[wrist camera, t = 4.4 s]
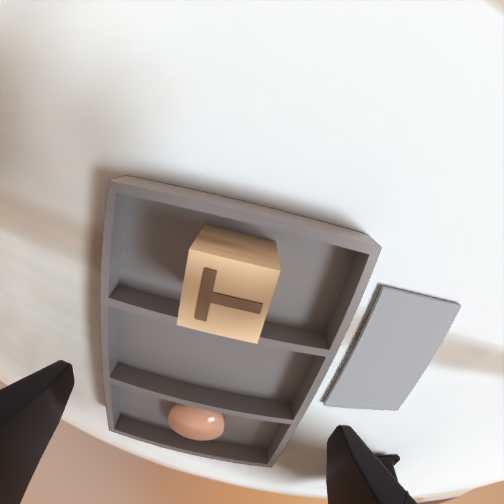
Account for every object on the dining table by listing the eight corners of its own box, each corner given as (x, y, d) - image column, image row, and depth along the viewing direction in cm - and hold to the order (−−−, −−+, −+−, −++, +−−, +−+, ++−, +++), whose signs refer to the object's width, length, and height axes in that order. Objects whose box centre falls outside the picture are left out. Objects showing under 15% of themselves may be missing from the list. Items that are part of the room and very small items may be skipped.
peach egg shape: (218, 435, 26) (217, 445, 25) (168, 423, 26) (165, 432, 25) (230, 405, 24) (229, 415, 23) (173, 391, 24) (170, 401, 23)
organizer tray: (271, 448, 28) (271, 467, 25) (116, 412, 27) (108, 430, 24) (368, 234, 20) (381, 247, 17) (125, 175, 19) (108, 180, 16)
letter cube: (257, 303, 21) (257, 344, 17) (192, 288, 21) (176, 325, 16) (276, 241, 19) (280, 271, 15) (204, 224, 19) (188, 249, 15)
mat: (396, 407, 25) (397, 410, 25) (323, 402, 25) (324, 405, 25) (458, 303, 21) (461, 305, 21) (382, 285, 21) (383, 287, 20)
